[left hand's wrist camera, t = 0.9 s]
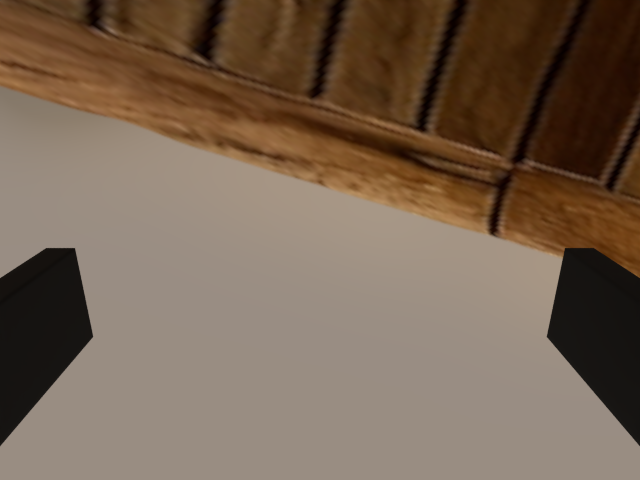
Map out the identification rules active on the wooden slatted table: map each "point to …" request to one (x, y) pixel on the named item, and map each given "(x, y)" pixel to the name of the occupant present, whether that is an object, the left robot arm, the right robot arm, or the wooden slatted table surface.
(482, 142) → the wooden slatted table surface
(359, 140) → the wooden slatted table surface
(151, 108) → the wooden slatted table surface
